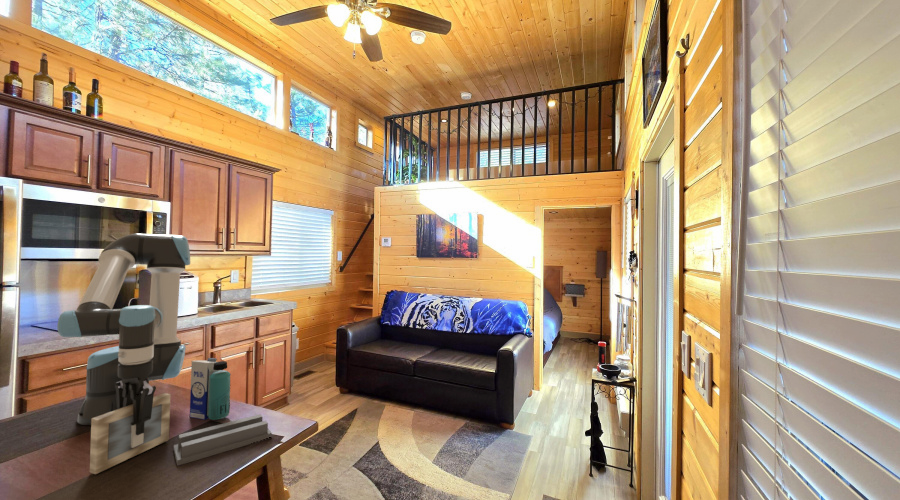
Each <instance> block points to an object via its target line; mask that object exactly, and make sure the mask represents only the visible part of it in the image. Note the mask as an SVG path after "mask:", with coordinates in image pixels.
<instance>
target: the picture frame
mask: <svg viewBox="0 0 900 500" xmlns="http://www.w3.org/2000/svg"><path fill="white" fill-rule="evenodd" d="M170 416H171V393H167V392H164V393H161V394H158V395H156V396H155V395H154V396H153V405H152V414H151V419H150V420H147V421H145V423H144V439H143V443H142V444H140V445H138V446H136V447H133V448H131V423H133V422H134V414H133V404H132V405H129V406H126V407H123V408H120V409H117V410H114V411H112V412H109V413H106V414H103V415H100V416H97V417H94V418H92V419H91V425H90V426H91V427H90V447H89V448H90V450H89V451H90V453H89V454H90V455H89V473H91V474H94V475H97V474H99V473H101V472H104V471H106V470H108V469H110V468H112V467H114V466H116V465H118V464H120V463H123V462H125V461H127V460H128V459H131V458H134V457H135V456H137V455H141V454H142V453H144V452H146V451H148V450H150V449H152V448H155V447H156V446H159V445H161V444H163V443H165V442H167V441H169V440H170V424H171V423H170V422H171V421H170V419H171V417H170Z"/></svg>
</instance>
